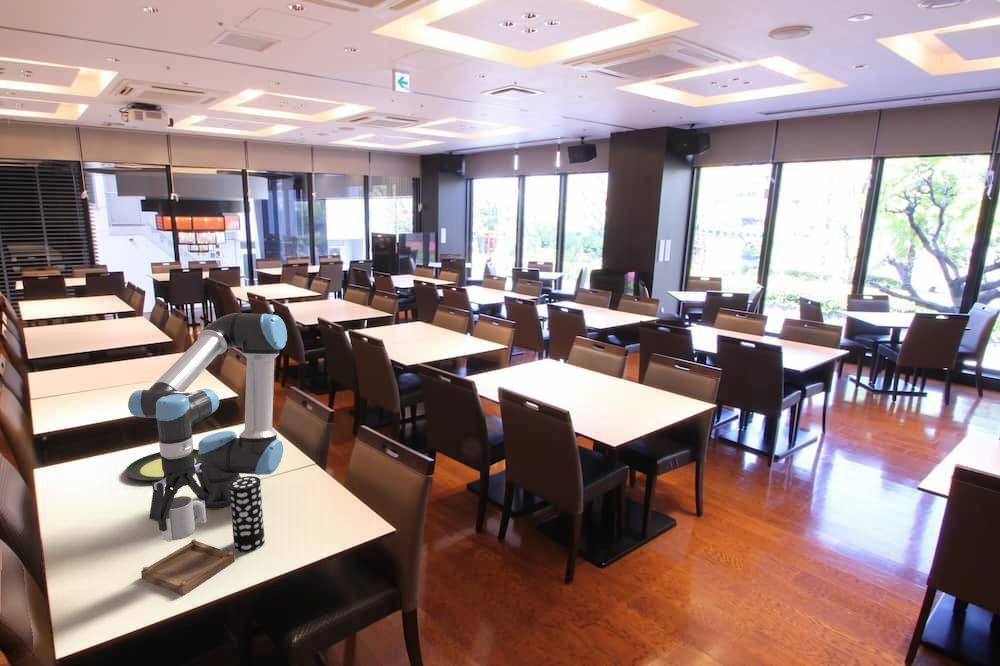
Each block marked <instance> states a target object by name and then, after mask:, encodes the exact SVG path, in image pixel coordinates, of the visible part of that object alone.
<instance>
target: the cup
mask: <svg viewBox="0 0 1000 666" xmlns="http://www.w3.org/2000/svg"><path fill="white" fill-rule="evenodd" d="M194 507H195V508H196V507H197V509H198V515H197V514H196V517H195V513H194V512H195V511H194ZM203 516H204V506H203V504H202V503H201V502H200V501H195V500H193V498H192V497H190V496H187V495H181V496H180V495H179V496H176V497H175V496H174V499H173V502H172V505H171V507H170V510H169V513H168V516H167V517H168V518H170V523H171V532H172V541H178V540H182V539H185V538H187V537H190V536H191V535H192V534H193V533H194V532H195V530H196V524H198V523H201V522H200V521H201V520H202V518H203Z"/></svg>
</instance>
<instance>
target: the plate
mask: <svg viewBox="0 0 1000 666" xmlns="http://www.w3.org/2000/svg"><path fill="white" fill-rule="evenodd" d="M193 452H194V460H195V464H194V465H196V463H200V462H199V454H198V449H196V448H193ZM161 457H162V456H161V454H160V451H157V452H155V453H151V454H149V455H146V456H142V457H140V458H138V459H137V460H134V461H132V462H131V463H130V464H128V466H127V467H126V468H125V470H124V474H125V476H126V477H127V478H129V479H132V480H135V481H143V482H158V481H160V480H162V479H163V476H164V472H163V470H162V462H161Z"/></svg>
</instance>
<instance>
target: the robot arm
mask: <svg viewBox="0 0 1000 666" xmlns="http://www.w3.org/2000/svg"><path fill="white" fill-rule="evenodd" d="M287 333H288V330H287V326H286V324H285V322H284V320H283V319H282V318H281V317H280V316H279V315H277V314H271V313H246V312H244V313H243V312H233V313H229V314H225V315H223V316H221V317H219V318H217V319H215V320H214V321H212V322H211V323H209V324H208V325H206V326H205V327H204V328H203V329H202V330H201V331H200V332H199V333H198V334H197V340H195V342H194V343H193V344H192V345H191V346H190V347H189V348H188V349H187V350H186V351H185V352H184V353H183V354H182V355H181V356H180V357H179V358H178V359H177V360H176V361H175V362H174V363H173V364H172V365H171V366H170V367H169V368H168V369H167V370H166V371H165V372H164V373H163V374H162V375H161V376H160V377H159V379H157V381H155V382H154V383H153V384H152V385H151V386H150V388H148V389H139V390H136V391H134V392H132V393H131V395H130V396H129V397H128V401H127V402H128V403H127V407H128V410H129V412H130V414H131V415H132V416H134V417H138V418H146V419H149V418H150V419H156V422H157V423H156V424H157V429H158V430H157V431H158V441H159V443H158V444H159V452H160V454H161V456H162V457H161V462H162V470H163V472H164V476H163V479H162V480H157V481H152V484H151V487H152V496H151V503H150V509H149V510H150V511H149V515H148V517H149V520H151V521H154V522H157V525H158V530H159V531H161V536H162V541H165V542H168V543H171V542H173V540H172V532H171V523H170V518H168V517H167V516H168V513H169V510H170V507H171V505H172V502H173V499H174V498H175V496H176V494H178V491H179V490H180V489H182V488H183V487H186V486H188V487H189V489H190V490H191V491H192V492H193V493H194V494H195V496H197V497H196V498H195V500H194V501H200V502H201V503H202V504H203V506H204V516H203V518H202V520H201V521H200V522H199V523H202V524H205V523H207V512H206V510H220V509H222V510H223V509H226V508H229V507H230V508H231V503H230V492H229V484H230V482H232V481H233V480H235V479H237V478H241V477H242V476H241V475H240V474H242V475H243V474H244V475H245V474H246V475H257V476H260V475H264V476H265V475H271V474H272V473H274V472H275V471H276V470H277V468H279V465H280V464H281V462H282V458H283V455H284V444H283V442H282V440H280V439H277V432H276V431H275V430H274V429H273V415H274V414H273V412H274V411H273V410H274V385H275V384H274V383H275V382H274V380H275V379H274V378H275V359H276V358H277V357H279V355H280V350H282V349H284V348H285V346H286V344H287V341H288V334H287ZM232 348H241V354H242V356H244V357H245V358H246V373H245V374H246V376H245V401H244V403H245V405H244V407H245V408H244V429H243V430H242V432H241V433H240V434H239V437H238V436H237V435H238V434H237V433H236V432H235V431H232V430H224V431H218V432H216V433H215V432H214V433H212V434H209V435H206V436H205V437H203V438H201V440H200V441H199V442H198V447H197V448H198V449H197V450H198V454H199V462H200V463H196V465H194V464H195V460H194V452H193V449H194V443H193V432H192V430H193V429H192V426H193V425H195V424H196V423H198V422H200V421H202V420H203V419H205V418H208V417H209V416H211V415H212V414H213V413H214V412H216V411H217V410H218V408H219V405H220V399H219V396H218V395H217V393H216V391H214V390H213V389H209V388H202V389H198V390H196V391H194V392H191V391H188V392H187V391H186V390H187V389H188V388H189V387H190V386H191V385H192V384H193V383H194V381H196V380H197V378H198V377H199V376H200V375H201V374H202V373H203V372H204V370H205V369H206V368H207V367H208V366H209V365H210V364H211V363H212V362H213V360H214V359H216V358H217V356H218V355H222V354H224V353H225V352H226V351H228V349H232ZM194 474H195V475H196V478H197V479H198V482H199V484H200V485H199V484H198V483H197V480H196V479H195V478H194ZM195 511H196V516H197V515H198V509H197V507H196V506H195Z"/></svg>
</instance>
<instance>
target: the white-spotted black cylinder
mask: <svg viewBox="0 0 1000 666" xmlns="http://www.w3.org/2000/svg"><path fill="white" fill-rule="evenodd" d="M240 477H241V478H237V479H235V480H233V481H232V482H230V484H229V492H230V503H231V506H230V512H231V513H230V514H231V515H230V516H231V525H232V526H231V527H232V537H233V547H234V550H235V551H236V552H239V553H250V552H255V551H257V550H258V549H260V548H262V547H263V545H265V542H266V541H265V540H266V539H265V530H264V529H265V527H264V513H263V500H262V486H261V485H262V484H261V479H260V477H258V476H254V475H253V476H252V475H249V476H240Z"/></svg>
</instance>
